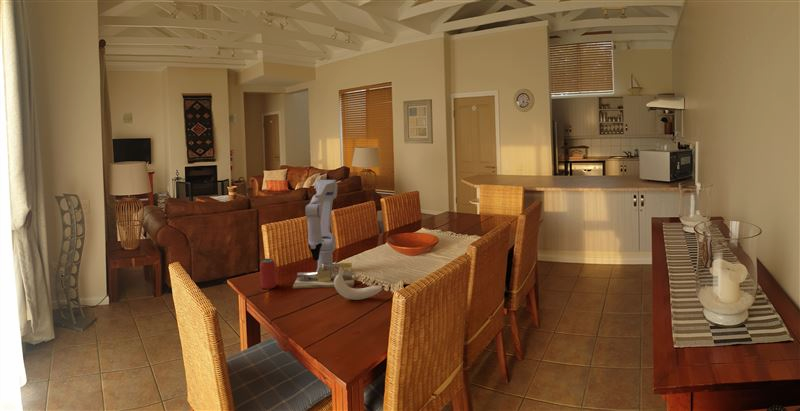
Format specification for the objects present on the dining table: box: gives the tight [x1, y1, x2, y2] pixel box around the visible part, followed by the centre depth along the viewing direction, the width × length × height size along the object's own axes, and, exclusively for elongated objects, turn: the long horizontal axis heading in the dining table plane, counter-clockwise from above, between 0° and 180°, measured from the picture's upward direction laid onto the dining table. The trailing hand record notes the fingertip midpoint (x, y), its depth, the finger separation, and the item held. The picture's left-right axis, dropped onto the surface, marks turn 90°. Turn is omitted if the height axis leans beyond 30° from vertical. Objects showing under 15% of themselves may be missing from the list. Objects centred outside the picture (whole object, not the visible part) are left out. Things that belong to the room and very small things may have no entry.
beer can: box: [259, 258, 278, 290], centre depth 208 cm, size 7×7×12 cm
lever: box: [322, 262, 353, 269], centre depth 212 cm, size 13×2×2 cm, turn 89°
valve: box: [296, 267, 353, 282], centre depth 213 cm, size 5×24×6 cm, turn 92°
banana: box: [334, 267, 383, 301], centre depth 191 cm, size 5×19×15 cm, turn 100°
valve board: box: [292, 273, 356, 289], centre depth 213 cm, size 14×26×1 cm, turn 92°
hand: (316, 260), depth 215 cm, fingers closed
